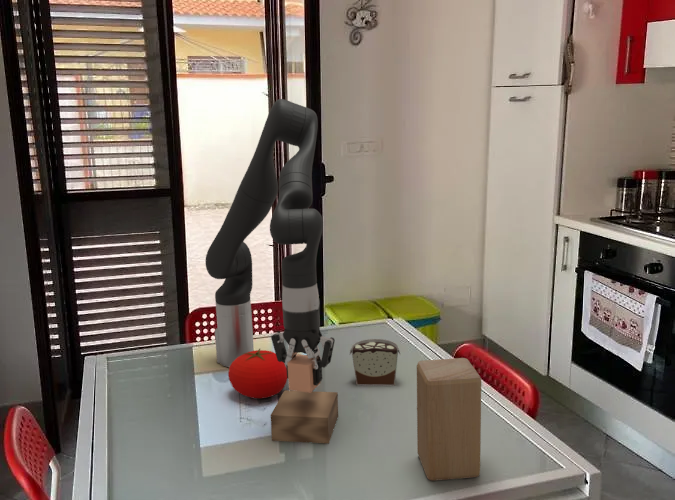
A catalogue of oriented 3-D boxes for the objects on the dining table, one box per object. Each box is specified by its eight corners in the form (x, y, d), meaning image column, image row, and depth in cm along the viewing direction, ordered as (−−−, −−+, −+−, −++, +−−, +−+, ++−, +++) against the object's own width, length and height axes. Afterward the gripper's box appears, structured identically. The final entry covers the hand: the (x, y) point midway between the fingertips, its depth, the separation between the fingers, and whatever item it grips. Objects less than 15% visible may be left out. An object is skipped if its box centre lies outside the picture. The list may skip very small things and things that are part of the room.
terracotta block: (289, 389, 138) (287, 362, 137) (299, 380, 142) (297, 354, 141) (310, 392, 136) (309, 365, 135) (320, 383, 141) (319, 356, 139)
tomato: (298, 387, 162) (296, 347, 159) (272, 409, 150) (269, 367, 148) (249, 379, 168) (246, 340, 165) (220, 400, 156) (216, 358, 154)
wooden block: (416, 454, 129) (415, 358, 125) (466, 450, 130) (467, 355, 125) (427, 483, 119) (427, 380, 115) (481, 479, 120) (483, 376, 116)
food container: (401, 375, 167) (400, 338, 164) (400, 385, 161) (400, 347, 158) (352, 375, 168) (351, 338, 166) (350, 385, 162) (349, 346, 160)
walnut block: (272, 441, 137) (270, 415, 135) (285, 415, 148) (284, 390, 147) (328, 444, 135) (327, 417, 133) (338, 417, 146) (337, 392, 145)
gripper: (261, 307, 135) (266, 385, 139) (325, 313, 129) (329, 394, 133) (278, 297, 142) (282, 371, 145) (340, 302, 136) (343, 379, 140)
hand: (304, 381), depth 139 cm, fingers closed on terracotta block, 5 cm apart
